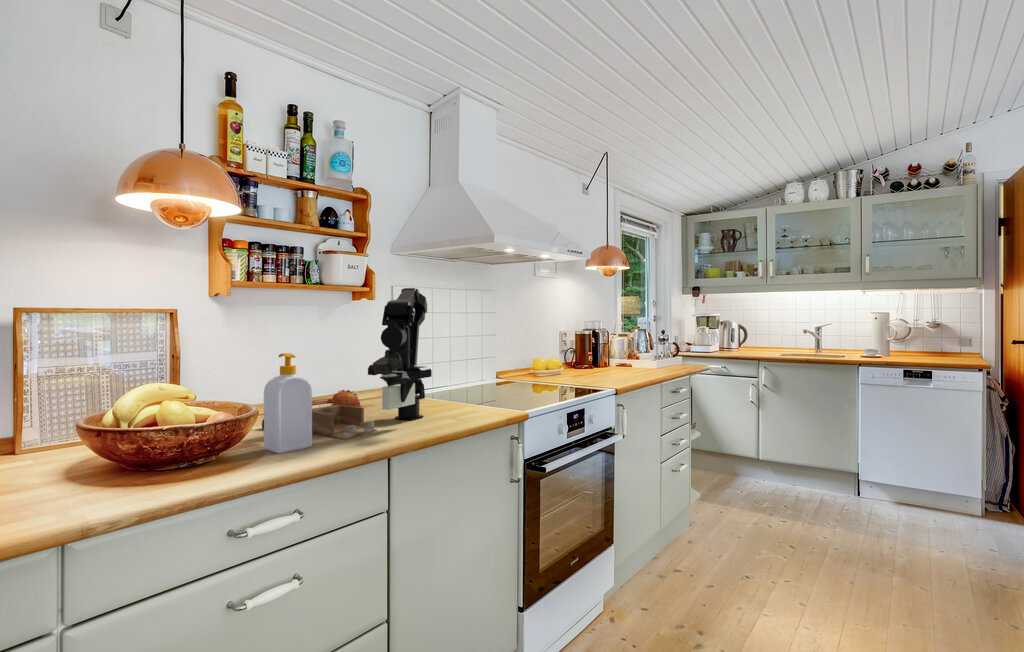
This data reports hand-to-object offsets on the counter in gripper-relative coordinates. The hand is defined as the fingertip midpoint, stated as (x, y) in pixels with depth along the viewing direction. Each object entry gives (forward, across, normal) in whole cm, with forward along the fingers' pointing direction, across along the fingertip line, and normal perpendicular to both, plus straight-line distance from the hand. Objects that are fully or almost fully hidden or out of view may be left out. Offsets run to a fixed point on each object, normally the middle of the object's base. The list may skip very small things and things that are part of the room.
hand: (399, 401), depth 149 cm
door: (+1, 0, 0) cm, 1 cm away
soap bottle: (+8, -10, -29) cm, 32 cm away
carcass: (+8, -12, -10) cm, 17 cm away
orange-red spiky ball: (+8, -27, +6) cm, 29 cm away
